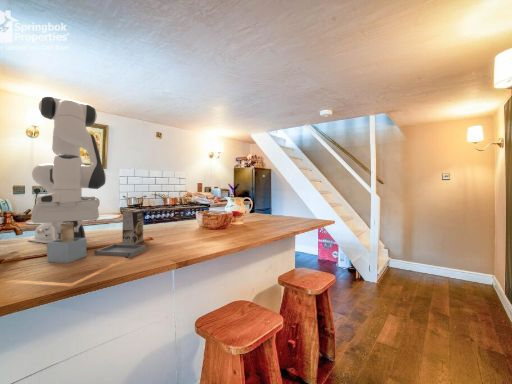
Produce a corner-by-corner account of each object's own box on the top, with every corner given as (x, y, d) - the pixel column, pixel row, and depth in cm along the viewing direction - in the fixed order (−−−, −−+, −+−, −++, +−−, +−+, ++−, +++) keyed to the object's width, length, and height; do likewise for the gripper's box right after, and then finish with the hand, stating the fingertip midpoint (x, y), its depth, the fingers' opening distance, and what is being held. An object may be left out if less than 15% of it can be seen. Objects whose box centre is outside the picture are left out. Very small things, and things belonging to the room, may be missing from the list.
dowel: (57, 258, 92) (57, 223, 91) (67, 255, 96) (67, 222, 95) (67, 258, 91) (67, 224, 91) (76, 255, 95) (76, 222, 95)
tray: (94, 256, 100) (94, 250, 100) (114, 248, 112) (114, 243, 112) (129, 258, 98) (129, 252, 98) (145, 250, 110) (145, 245, 110)
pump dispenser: (70, 253, 102) (71, 217, 102) (50, 251, 104) (50, 216, 104) (91, 247, 112) (91, 215, 112) (73, 246, 114) (73, 213, 114)
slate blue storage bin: (47, 263, 90) (47, 242, 89) (67, 256, 98) (67, 237, 98) (68, 264, 89) (68, 243, 89) (86, 258, 97) (86, 238, 97)
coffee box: (134, 245, 119) (135, 212, 118) (121, 244, 119) (122, 211, 119) (143, 240, 128) (144, 210, 128) (131, 240, 128) (131, 209, 128)
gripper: (98, 196, 102) (98, 229, 102) (32, 196, 89) (32, 234, 89) (100, 197, 97) (100, 231, 97) (30, 197, 84) (30, 237, 84)
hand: (67, 233), depth 93 cm, fingers closed on dowel, 4 cm apart
